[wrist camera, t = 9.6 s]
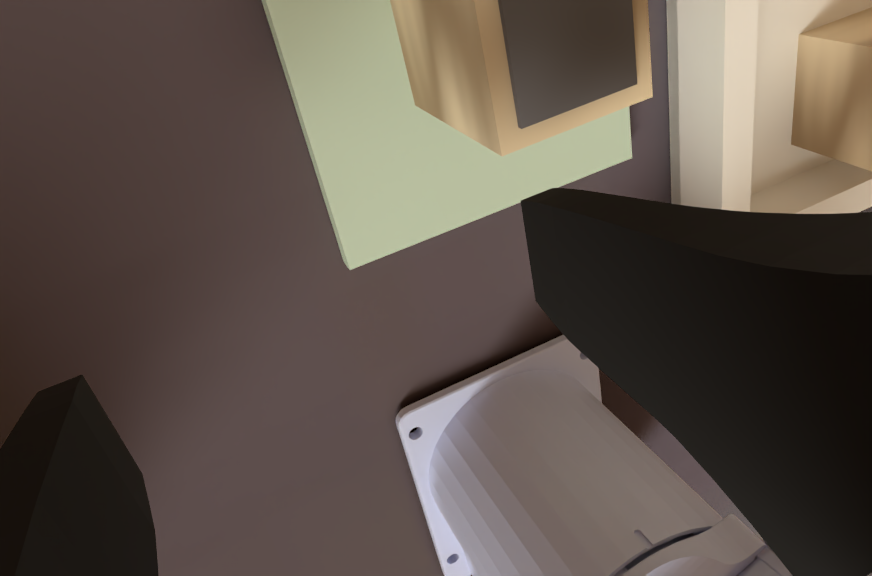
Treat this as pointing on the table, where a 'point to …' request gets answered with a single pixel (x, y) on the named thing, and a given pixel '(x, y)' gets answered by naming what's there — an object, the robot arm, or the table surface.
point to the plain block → (835, 90)
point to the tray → (749, 109)
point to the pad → (406, 135)
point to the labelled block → (524, 64)
